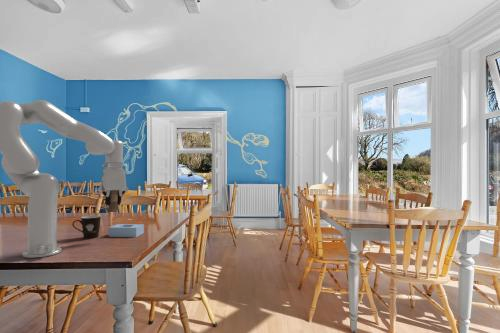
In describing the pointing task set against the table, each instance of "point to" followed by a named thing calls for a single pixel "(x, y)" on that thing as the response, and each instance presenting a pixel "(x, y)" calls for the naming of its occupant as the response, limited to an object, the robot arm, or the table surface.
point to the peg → (113, 201)
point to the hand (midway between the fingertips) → (113, 204)
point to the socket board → (126, 230)
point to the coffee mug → (89, 226)
